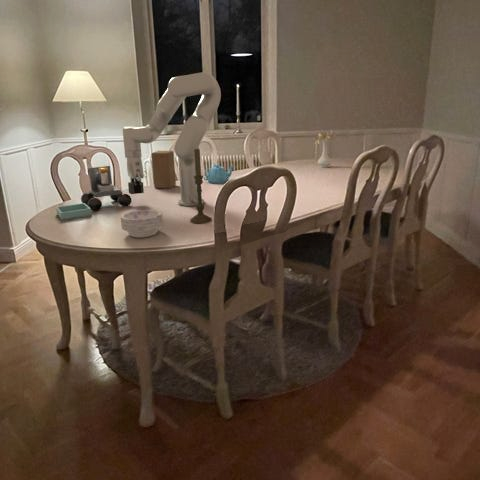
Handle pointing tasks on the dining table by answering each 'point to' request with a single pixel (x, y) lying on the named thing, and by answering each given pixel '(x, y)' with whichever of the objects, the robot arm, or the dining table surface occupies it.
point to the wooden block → (163, 169)
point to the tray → (73, 211)
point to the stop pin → (104, 176)
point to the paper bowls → (142, 223)
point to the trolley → (102, 190)
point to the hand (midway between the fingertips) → (136, 192)
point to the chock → (131, 187)
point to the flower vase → (324, 147)
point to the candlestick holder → (199, 193)
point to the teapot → (218, 174)
